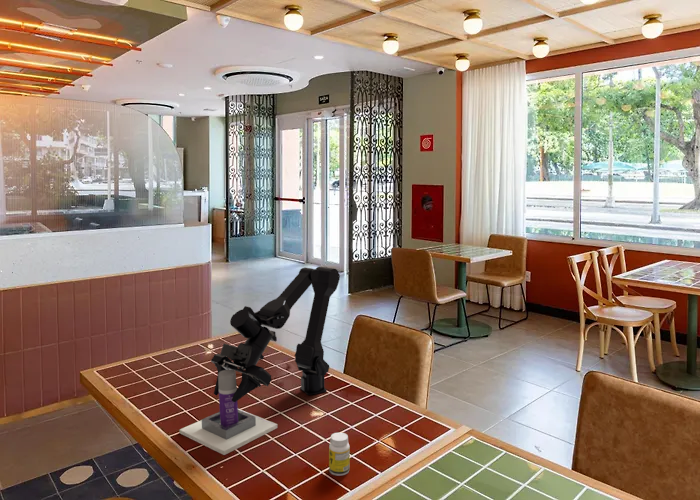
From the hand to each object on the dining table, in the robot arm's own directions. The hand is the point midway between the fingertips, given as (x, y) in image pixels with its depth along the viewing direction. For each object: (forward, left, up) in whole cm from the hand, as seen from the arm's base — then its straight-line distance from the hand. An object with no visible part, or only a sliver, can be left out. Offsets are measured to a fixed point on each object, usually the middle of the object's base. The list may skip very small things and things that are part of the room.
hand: (223, 398), depth 140 cm
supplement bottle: (-18, +30, -10) cm, 37 cm away
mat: (-1, -1, -10) cm, 10 cm away
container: (-1, -1, -9) cm, 9 cm away
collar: (-1, -1, -10) cm, 10 cm away
